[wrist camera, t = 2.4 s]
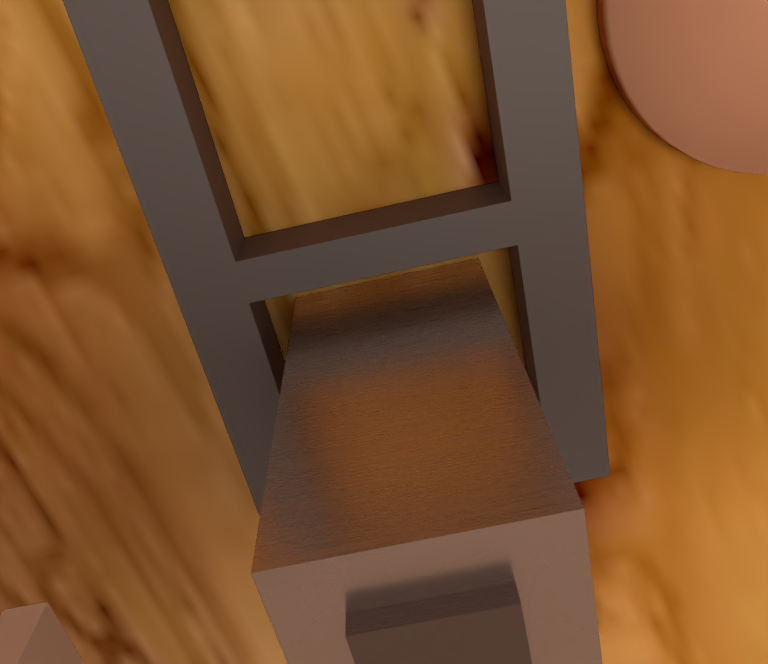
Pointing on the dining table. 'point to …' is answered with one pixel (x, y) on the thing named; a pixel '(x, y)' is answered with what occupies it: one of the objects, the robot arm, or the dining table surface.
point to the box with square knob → (419, 487)
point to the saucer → (694, 74)
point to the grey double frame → (362, 219)
